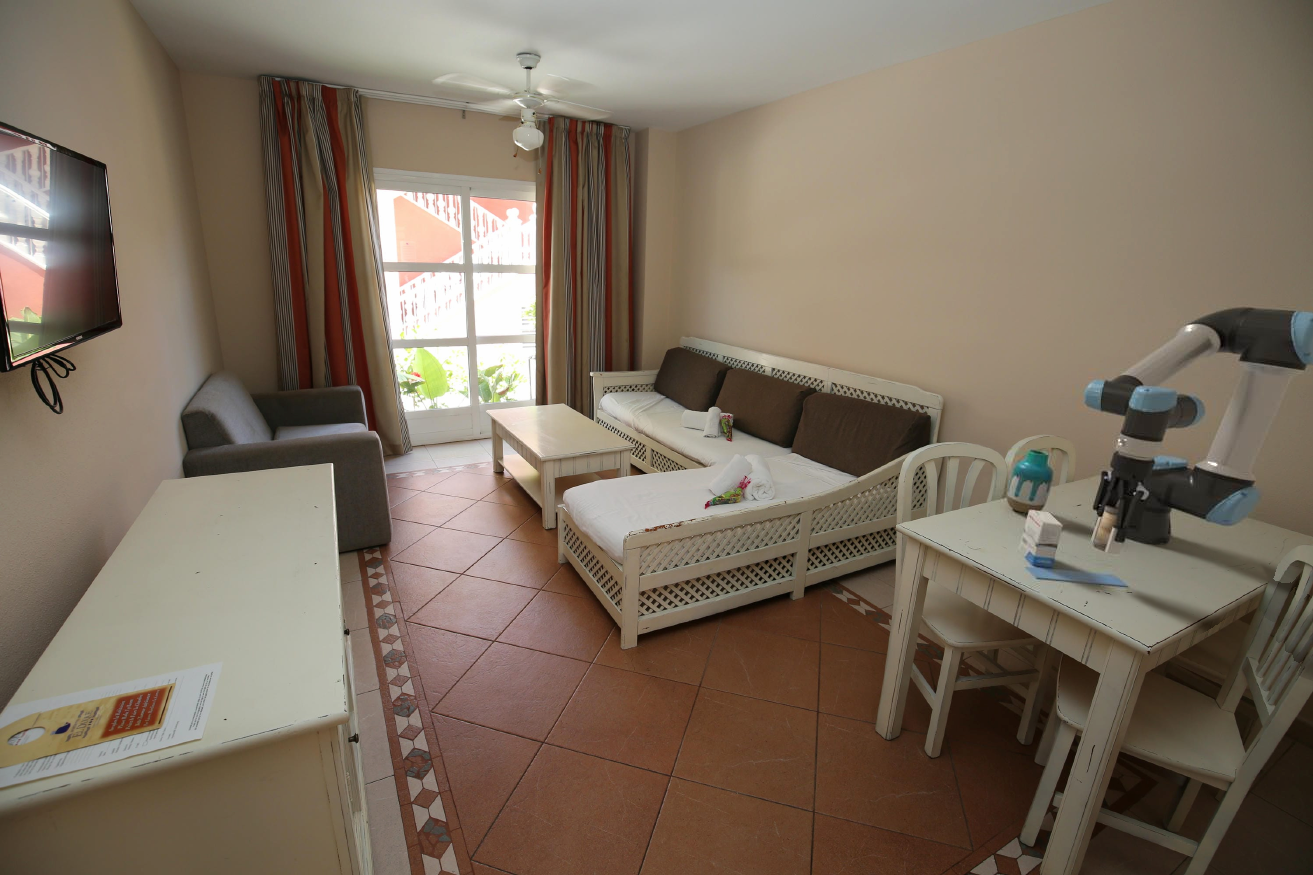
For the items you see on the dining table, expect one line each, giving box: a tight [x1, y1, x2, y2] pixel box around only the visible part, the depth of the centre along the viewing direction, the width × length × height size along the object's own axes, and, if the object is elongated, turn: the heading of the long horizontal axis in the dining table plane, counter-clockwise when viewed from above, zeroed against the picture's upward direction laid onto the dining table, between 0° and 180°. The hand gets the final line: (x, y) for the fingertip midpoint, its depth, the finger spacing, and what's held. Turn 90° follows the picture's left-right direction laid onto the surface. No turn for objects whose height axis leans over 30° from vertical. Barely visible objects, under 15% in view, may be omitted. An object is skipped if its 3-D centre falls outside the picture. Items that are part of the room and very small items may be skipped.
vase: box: [1006, 449, 1054, 514], centre depth 176 cm, size 11×11×19 cm
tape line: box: [1025, 566, 1129, 588], centre depth 141 cm, size 21×5×1 cm, turn 85°
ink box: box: [1018, 510, 1064, 568], centre depth 147 cm, size 9×5×12 cm, turn 169°
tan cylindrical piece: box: [1092, 506, 1124, 552], centre depth 137 cm, size 5×5×10 cm
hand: (1104, 547), depth 138 cm, fingers closed on tan cylindrical piece, 5 cm apart
